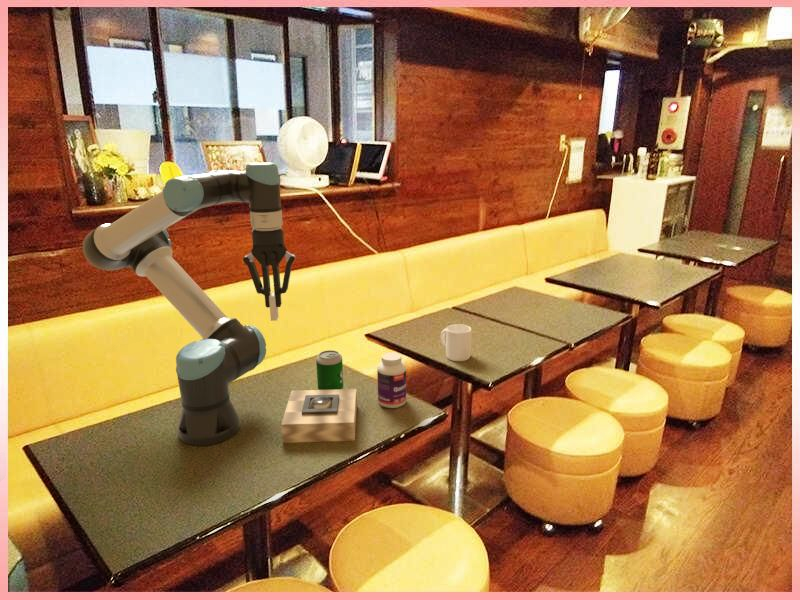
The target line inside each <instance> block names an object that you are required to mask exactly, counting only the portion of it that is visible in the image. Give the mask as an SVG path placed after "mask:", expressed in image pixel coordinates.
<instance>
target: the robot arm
mask: <svg viewBox="0 0 800 600" xmlns="http://www.w3.org/2000/svg"><path fill="white" fill-rule="evenodd" d="M281 200H282V199H281V180H280V173H279V167H278V165H277V164H276V163H274V162H270V161H269V162H268V161H267V162H265V161H264V162H262V161H261V162H260V161H259V162H249V163H247V164H246V165H245V170H230V169H223V168H222V169H212V170H210V171H208V172H205V173H196V174H190V175H179V176H176V177H173V178H172V177H171V178H170V179H168V180H167V181H166V182H165V183H164V186H163V189H162V191H160V192H158V193H157V194H155V195H153V196H152V197H151V198H149V199H147V200H146V201H144V202H143V203H141V204H140V205H139V206H136V208H134V209H132V210H130V211H129V212H127V213H126V214H124V215H123V216H121V217H120V218H118V219H117V220H115V221H113V222H112V223H104V224H101V225H99V226H97V227H96V228H95V229H93V230H91V231H90V232H89V233H88V234H86V236H85V237H84V239H83V242H82V253H83V255H84V258H85V259H86V260H87V261H88V262H89V264H90V265H92V266H93V267H95V268H97V269H99V270H102V271H117V270H122V269H125V268H130V269H131V270H132V271H133V272H134V273H135V274H136V276H138V277H146V278H147V279H148V280H149V282H151V283H152V285H154V286H155V287H156V289H157V290H158V291H159V292H160V294H162V296H164V298H165V299H166V300H168V302H169V303H170V304H171V305H172V307H174V308H175V309H176V311H178V313H179V314H180V315H181V316H182V317H183V318H184V319H185V320H186V321H187V322H188V324H190V326H191V327H192V329H194V330H195V332H197V333H198V335H199V336H200V337H201V338H202V339H199V340H194V341H192V342H190V343H188V344H186V345H184V346H183V347H182V348H180V350H179V351H178V352H177V354H176V357H175V364H176V366H175V371H176V376H177V382H178V387H179V394H180V399H181V407H182V408H181V412H180V418H179V423H178V426H177V430H178V438H179V440H180V441H181V442H183V444H187V445H189V446H194V447H195V446H197V447H203V446H210V445H216V444H220V443H221V442H224V441H226V440H228V439H231V438H232V437H233V436H235V435H236V434H237V432H238V431H239V430H240V428H241V427H240V426H241V425H240V417H239V414H238V412H237V410H236V408H235V407H234V405H233V403H232V401H231V399H230V398H231V397H230V389H229V385H230V384H231V383H232V382H234V381H236V380H237V379H239V378H240V377H242V376H244V375H246V374H247V373H249V372H251V371H253V370H254V369H256V368H257V367H258V366H259V365H261V364H262V363H263V361H264V360H265V358H266V355H267V348H266V347H267V343H266V340H265V337H264V335H263V333H262V332H261V330H259V328H257V327H256V326H254V325H249V324H245V325H243V324H242V323H241V321H239V320H238V319H237V318H236V317H228V316H227V315H226V314H225V312H224V311H222V310H221V308H220V307H219V306H218V305H217V304H216V303H215V302H214V301H213V300H212V299H211V297H210V296H209V295H207V293H206V292H205V291H204V290H203V289H202V288H201V287H200V286H199V284H197V282H196V281H195V280H194V279H193V278H192V277H191V276H190V275H189V274H188V273H187V272H186V271H185V269H184V268H183V267H182V266H181V265H180V264H179V263H178V262H177V261H176V260H175V259H174V258H173V248H172V240H171V239H170V238H169V237H170V235H169V233H168V231H167V229H168V228H169V227H171V226H173V225H174V224H175V223H177V222H179V221H181V220H183V219H185V218H186V217H187V216H190V215H191V214H193V213H195V212H196V211H199V210H201V209H204V208H208V207H212V206H217V205H221V204H226V203H228V204H229V203H234V202H236V203H248V207H249V216H250V217H249V218H250V227H251V228H253V229H252V230H251V240H252V249H251V250H250V251H251V252H250V253H248V254H246V255H244V256H243V258H242V261H243V262H244V264H246V266H247V268H248V270H249V274H250V277H251V279H252V282H253V286H254V287H255V291H256V293H257V294H259V295H263V296H264V303H265V307H266V308H269V314H270V315H269V316H270V321H272V322H274V321H275V322H277V321H278V319H279V308H281V306H282V294H285V293H287V291H288V289H289V283H290V278H291V273H292V267H293V263H294V261H295V259H296V258H297V256H296V254H295V253H290V252H289V251H288V250H287V247H286V246H285V239H284V238H285V237H284V229H283V227H282V226H283V224H284V223H283V210H282V202H281ZM284 257H285V259H284ZM255 259H256V260H257V262H258V263H259V264H260V266H261V267H260V268H261V274H262V280H261V278H260V275H259V272H258V269H257V265H256V263H255V262H254V261H255ZM282 259H284V260H285V261H286V264H285V269H284V274H283V275H284V276H283V280H282V286H281V275H280V274H281V273H280V263H281V262H282ZM270 266H271V270H272V280H273V291H274V293H273V292H272V290H271V280H270V269H269V268H270ZM262 282H263V283H262Z"/></svg>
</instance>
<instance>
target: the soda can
mask: <svg viewBox="0 0 800 600" xmlns="http://www.w3.org/2000/svg"><path fill="white" fill-rule="evenodd" d="M315 361H316V362H315V363H316V379H317V382H316V383H317V390H335V389H344V374H343V373H344V372H343V371H344V369H343V368H344V367H343V356H342V354H341V353H339V351H336V350H331V349H330V350H329V349H328V350H323V351H320V353H318V355H317V356H316V358H315Z"/></svg>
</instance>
